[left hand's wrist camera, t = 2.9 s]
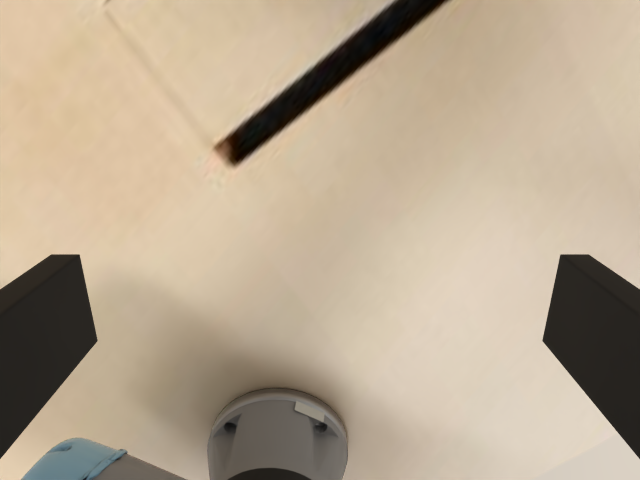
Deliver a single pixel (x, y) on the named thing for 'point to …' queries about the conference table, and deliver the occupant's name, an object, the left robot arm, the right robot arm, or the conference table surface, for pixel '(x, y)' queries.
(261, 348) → the conference table surface
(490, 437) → the conference table surface
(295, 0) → the conference table surface
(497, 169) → the conference table surface
